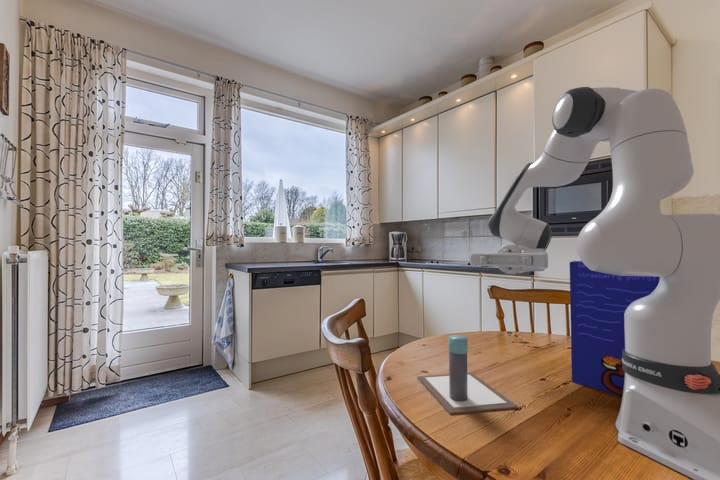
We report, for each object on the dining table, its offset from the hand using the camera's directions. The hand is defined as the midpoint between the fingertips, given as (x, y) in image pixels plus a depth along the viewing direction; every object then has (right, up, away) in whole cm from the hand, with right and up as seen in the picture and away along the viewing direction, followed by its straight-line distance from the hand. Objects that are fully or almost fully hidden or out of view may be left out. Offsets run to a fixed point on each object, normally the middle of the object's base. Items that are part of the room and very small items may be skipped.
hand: (501, 260), depth 87 cm
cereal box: (+24, -30, -12) cm, 40 cm away
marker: (-16, -29, -15) cm, 36 cm away
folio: (-14, -30, -11) cm, 34 cm away
